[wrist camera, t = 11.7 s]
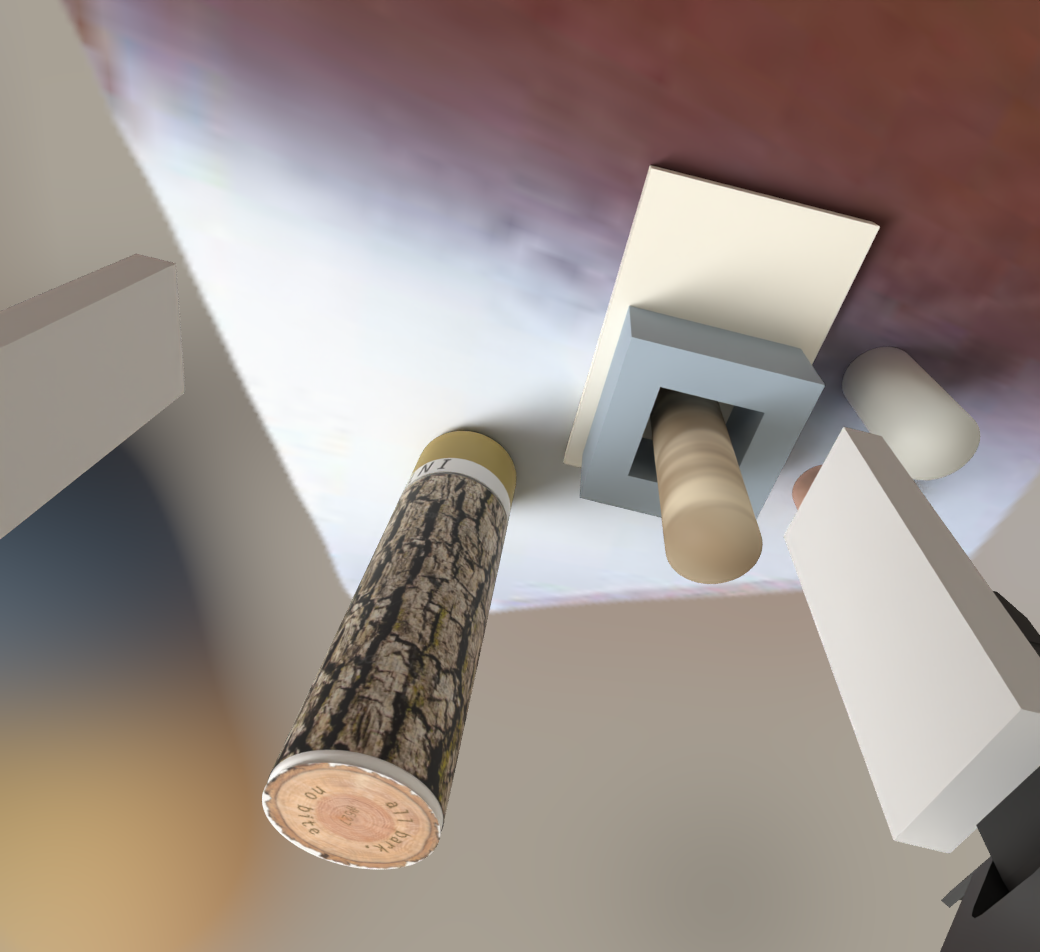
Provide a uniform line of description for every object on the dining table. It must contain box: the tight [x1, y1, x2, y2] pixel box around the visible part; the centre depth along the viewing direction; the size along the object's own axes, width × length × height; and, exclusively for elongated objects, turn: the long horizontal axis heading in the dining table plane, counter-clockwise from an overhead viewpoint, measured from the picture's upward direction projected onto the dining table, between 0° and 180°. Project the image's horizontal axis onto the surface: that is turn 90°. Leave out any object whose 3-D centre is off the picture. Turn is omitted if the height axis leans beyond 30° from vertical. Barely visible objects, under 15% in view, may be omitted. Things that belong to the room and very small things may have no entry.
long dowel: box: [650, 387, 762, 584], centre depth 34 cm, size 4×4×14 cm
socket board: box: [563, 165, 880, 519], centre depth 37 cm, size 18×12×6 cm, turn 168°
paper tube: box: [262, 431, 516, 869], centre depth 35 cm, size 7×7×25 cm
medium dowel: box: [842, 347, 980, 480], centre depth 36 cm, size 4×4×8 cm
